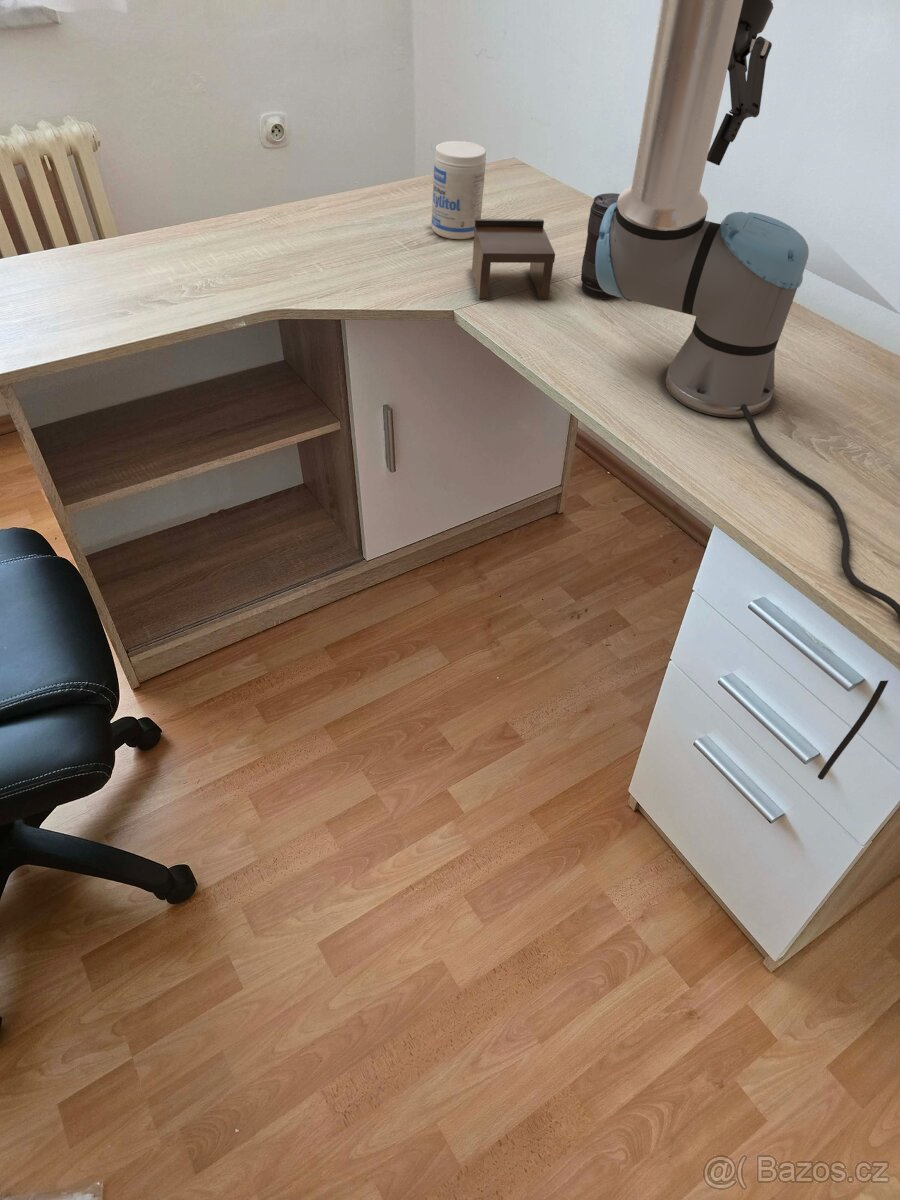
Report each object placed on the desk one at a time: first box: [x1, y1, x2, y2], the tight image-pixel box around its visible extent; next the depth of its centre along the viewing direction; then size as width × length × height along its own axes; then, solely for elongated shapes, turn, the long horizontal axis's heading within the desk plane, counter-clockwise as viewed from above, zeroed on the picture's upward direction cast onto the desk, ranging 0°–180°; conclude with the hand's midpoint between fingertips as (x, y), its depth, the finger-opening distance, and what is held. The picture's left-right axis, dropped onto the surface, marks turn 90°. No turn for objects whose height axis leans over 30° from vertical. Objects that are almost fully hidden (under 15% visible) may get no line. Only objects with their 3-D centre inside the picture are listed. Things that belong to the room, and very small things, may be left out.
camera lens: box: [580, 192, 621, 300], centre depth 132 cm, size 8×8×15 cm
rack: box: [471, 218, 556, 301], centre depth 134 cm, size 12×12×9 cm
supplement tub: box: [431, 140, 487, 240], centre depth 148 cm, size 10×10×15 cm
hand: (682, 151), depth 126 cm, fingers open, 13 cm apart
